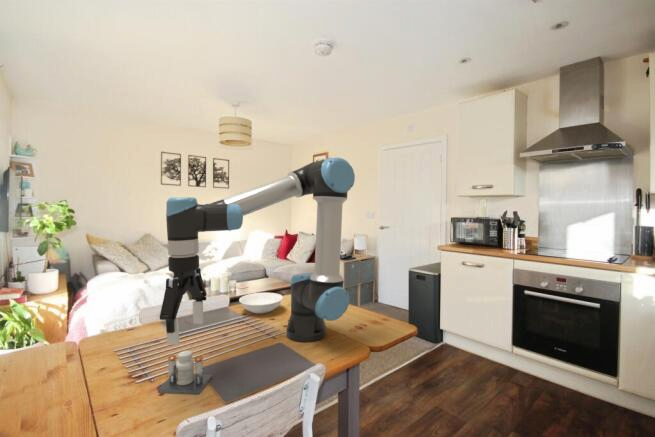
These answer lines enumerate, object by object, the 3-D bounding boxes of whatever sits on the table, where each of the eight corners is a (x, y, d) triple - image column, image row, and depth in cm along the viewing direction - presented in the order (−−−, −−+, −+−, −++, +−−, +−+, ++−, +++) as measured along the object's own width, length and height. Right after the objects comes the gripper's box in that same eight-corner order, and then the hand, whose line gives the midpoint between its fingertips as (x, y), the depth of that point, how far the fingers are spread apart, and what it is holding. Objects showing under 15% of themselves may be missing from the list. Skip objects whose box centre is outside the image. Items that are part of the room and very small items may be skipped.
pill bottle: (180, 377, 90) (179, 350, 89) (196, 376, 90) (195, 349, 90) (173, 386, 85) (173, 357, 85) (190, 385, 86) (190, 356, 85)
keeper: (212, 377, 91) (211, 351, 91) (198, 394, 83) (198, 365, 83) (174, 376, 92) (173, 350, 92) (157, 392, 84) (157, 363, 84)
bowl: (262, 322, 135) (262, 307, 134) (229, 314, 145) (229, 300, 145) (292, 309, 151) (291, 296, 151) (260, 302, 162) (260, 290, 162)
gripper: (192, 248, 99) (195, 316, 100) (140, 264, 74) (144, 354, 75) (216, 248, 99) (218, 316, 100) (171, 264, 74) (175, 355, 75)
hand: (186, 333), depth 87 cm, fingers open, 13 cm apart
